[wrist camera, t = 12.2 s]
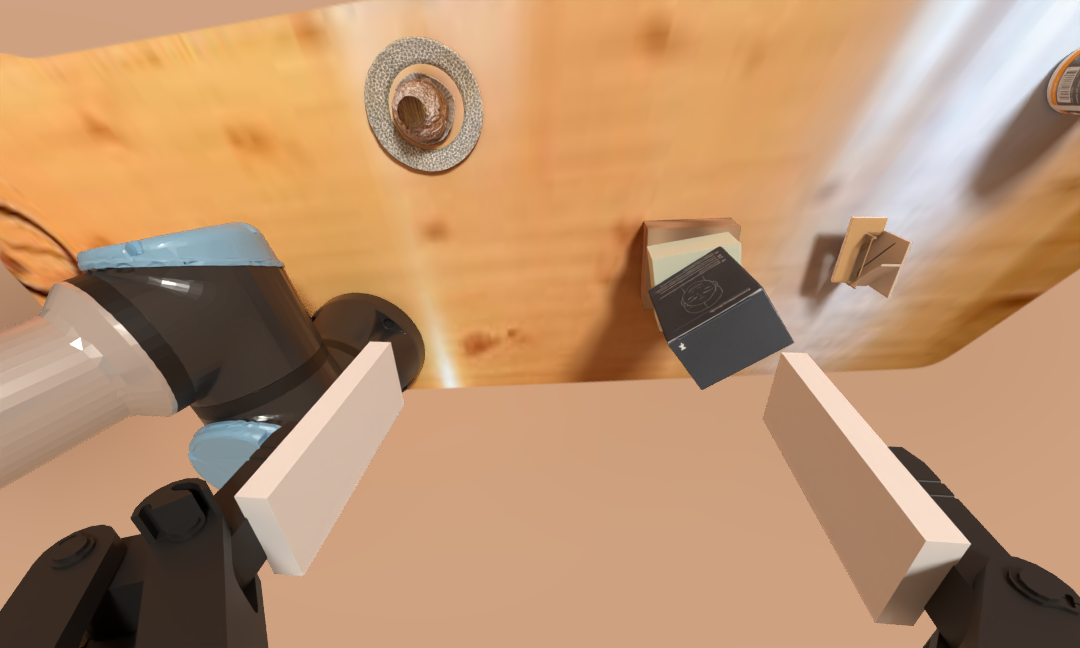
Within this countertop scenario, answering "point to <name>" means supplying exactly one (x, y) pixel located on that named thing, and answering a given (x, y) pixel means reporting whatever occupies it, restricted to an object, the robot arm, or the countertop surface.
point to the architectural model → (871, 255)
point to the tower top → (686, 255)
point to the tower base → (674, 232)
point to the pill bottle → (1066, 85)
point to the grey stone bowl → (422, 104)
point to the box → (717, 318)
